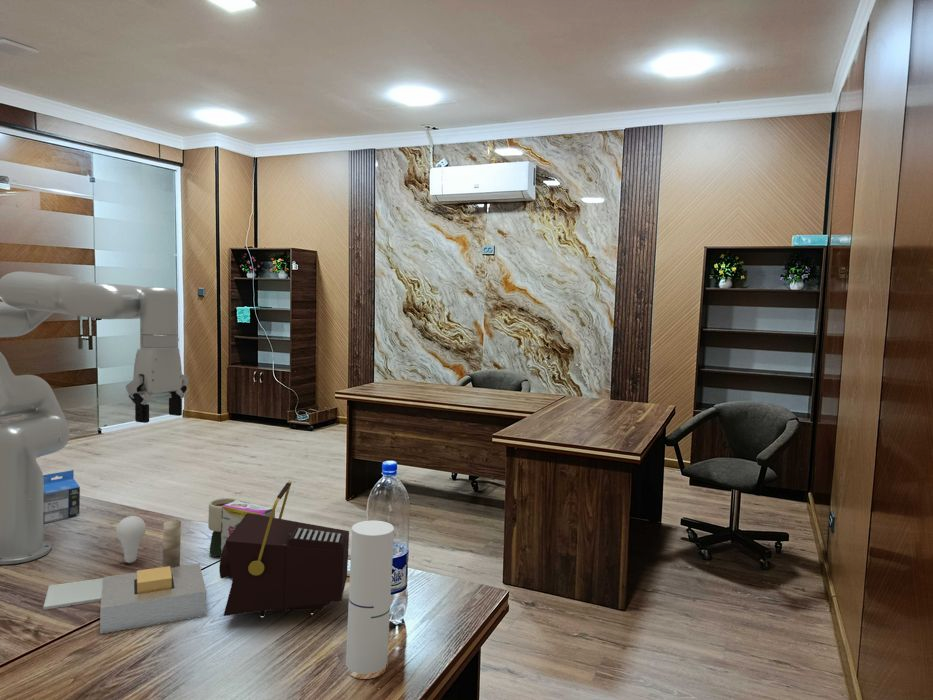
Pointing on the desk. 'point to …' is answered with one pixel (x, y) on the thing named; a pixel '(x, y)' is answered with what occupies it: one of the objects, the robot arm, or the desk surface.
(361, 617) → the cylindrical container
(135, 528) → the lightbulb
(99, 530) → the desk surface
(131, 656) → the desk surface
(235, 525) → the candy bar box
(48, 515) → the ink cartridge box
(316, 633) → the desk surface
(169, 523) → the beige cylinder
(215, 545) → the character mug
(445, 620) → the desk surface
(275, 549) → the dark brown boxy piece
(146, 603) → the breaker box
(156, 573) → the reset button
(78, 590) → the mat
